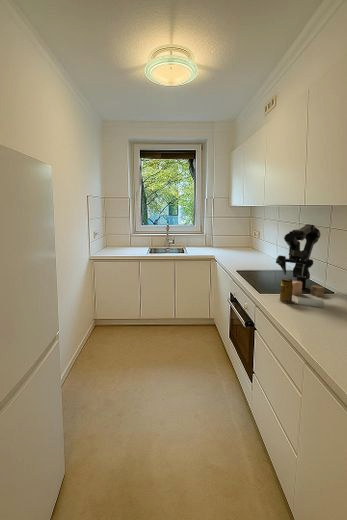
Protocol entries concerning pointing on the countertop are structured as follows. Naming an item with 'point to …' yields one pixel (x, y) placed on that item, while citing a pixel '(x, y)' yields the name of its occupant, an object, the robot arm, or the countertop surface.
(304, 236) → the robot arm
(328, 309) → the countertop surface
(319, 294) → the walnut block
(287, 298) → the condiment
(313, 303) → the slate mat
